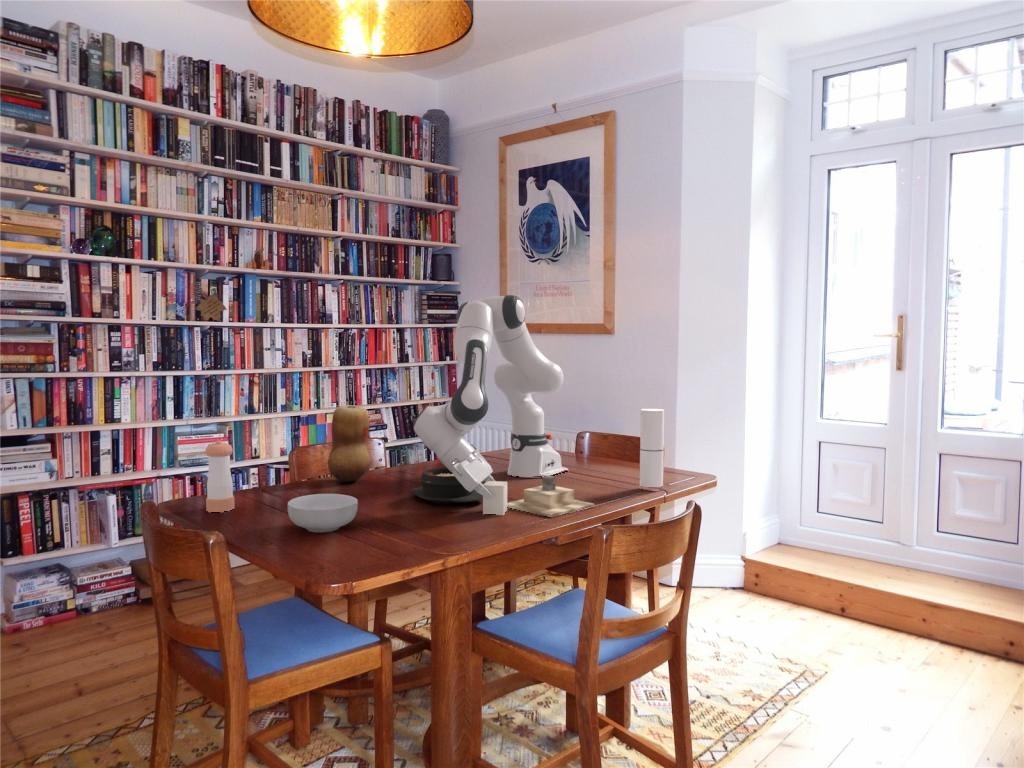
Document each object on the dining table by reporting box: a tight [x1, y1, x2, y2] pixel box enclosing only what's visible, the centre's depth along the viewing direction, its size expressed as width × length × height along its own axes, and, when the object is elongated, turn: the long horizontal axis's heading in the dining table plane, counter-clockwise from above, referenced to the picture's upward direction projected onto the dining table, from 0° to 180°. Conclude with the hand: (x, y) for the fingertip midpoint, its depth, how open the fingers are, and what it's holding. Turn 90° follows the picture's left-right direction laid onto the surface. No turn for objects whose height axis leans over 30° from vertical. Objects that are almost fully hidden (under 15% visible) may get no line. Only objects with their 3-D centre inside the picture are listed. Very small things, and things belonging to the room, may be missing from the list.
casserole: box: [409, 466, 483, 505], centre depth 218 cm, size 25×19×8 cm
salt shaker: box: [204, 440, 236, 513], centre depth 204 cm, size 7×7×19 cm
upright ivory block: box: [482, 480, 508, 516], centre depth 202 cm, size 6×6×8 cm
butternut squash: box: [327, 404, 371, 483], centre depth 243 cm, size 14×13×25 cm
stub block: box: [507, 476, 595, 518], centre depth 208 cm, size 18×18×8 cm
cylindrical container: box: [639, 408, 665, 487], centre depth 232 cm, size 7×7×25 cm
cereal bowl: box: [287, 493, 359, 533], centre depth 185 cm, size 17×17×7 cm
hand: (494, 493), depth 202 cm, fingers open, 8 cm apart
